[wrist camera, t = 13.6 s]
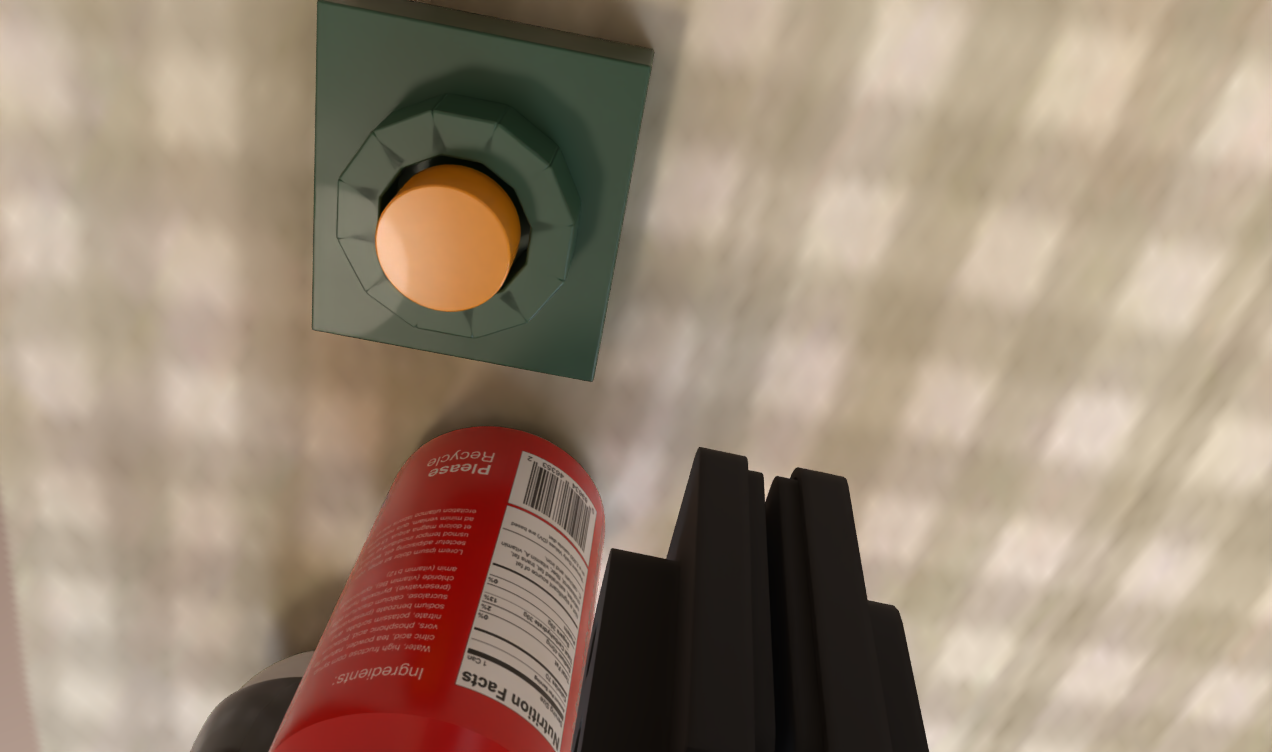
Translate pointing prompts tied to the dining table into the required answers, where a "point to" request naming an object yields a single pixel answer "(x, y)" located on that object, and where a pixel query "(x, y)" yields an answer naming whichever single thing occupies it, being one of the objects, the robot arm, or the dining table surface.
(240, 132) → the dining table surface
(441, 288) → the power button
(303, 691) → the soda can
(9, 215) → the dining table surface
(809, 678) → the robot arm
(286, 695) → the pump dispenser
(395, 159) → the switch box
